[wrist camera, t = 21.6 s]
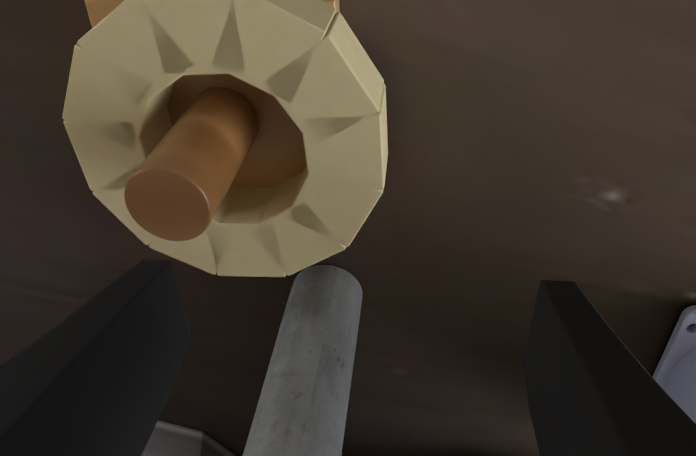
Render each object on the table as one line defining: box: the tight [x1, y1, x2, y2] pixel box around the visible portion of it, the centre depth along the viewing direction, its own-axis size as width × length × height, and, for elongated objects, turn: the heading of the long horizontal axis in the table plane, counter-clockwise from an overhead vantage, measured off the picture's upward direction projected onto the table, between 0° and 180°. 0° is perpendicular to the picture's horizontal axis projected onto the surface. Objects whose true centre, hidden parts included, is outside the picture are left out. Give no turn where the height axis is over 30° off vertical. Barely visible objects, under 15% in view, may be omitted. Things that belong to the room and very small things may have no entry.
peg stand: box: [84, 0, 340, 241], centre depth 18 cm, size 8×8×6 cm
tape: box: [62, 0, 388, 277], centre depth 18 cm, size 10×10×2 cm
